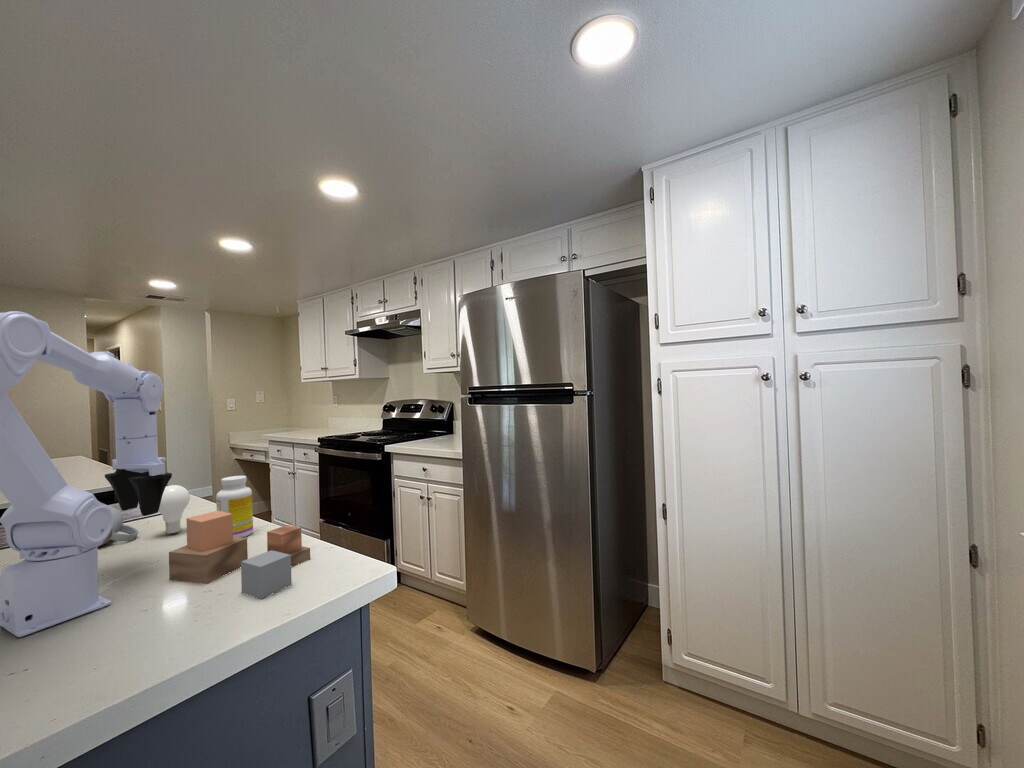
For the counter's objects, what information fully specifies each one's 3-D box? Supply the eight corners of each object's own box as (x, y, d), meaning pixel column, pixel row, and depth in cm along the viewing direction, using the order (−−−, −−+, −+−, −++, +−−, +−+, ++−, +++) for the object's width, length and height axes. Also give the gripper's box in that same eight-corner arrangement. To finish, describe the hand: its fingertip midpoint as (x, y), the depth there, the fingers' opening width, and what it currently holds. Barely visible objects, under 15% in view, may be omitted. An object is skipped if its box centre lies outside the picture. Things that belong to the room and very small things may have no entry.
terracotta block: (201, 551, 71) (201, 522, 72) (187, 546, 74) (186, 518, 74) (233, 541, 76) (232, 513, 76) (218, 537, 78) (217, 510, 78)
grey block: (261, 599, 64) (260, 567, 64) (241, 593, 66) (240, 561, 66) (291, 585, 69) (290, 554, 69) (272, 579, 71) (271, 550, 71)
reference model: (280, 571, 74) (279, 537, 74) (259, 565, 77) (258, 532, 77) (310, 558, 79) (309, 526, 79) (289, 553, 82) (288, 522, 82)
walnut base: (206, 585, 70) (206, 555, 70) (169, 581, 72) (168, 552, 72) (247, 565, 78) (247, 538, 78) (213, 562, 80) (212, 535, 80)
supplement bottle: (260, 530, 96) (258, 474, 96) (238, 541, 89) (237, 480, 90) (232, 530, 97) (231, 474, 97) (209, 541, 90) (207, 481, 90)
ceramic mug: (63, 555, 84) (63, 517, 84) (76, 543, 91) (76, 507, 91) (133, 544, 90) (134, 508, 90) (141, 533, 97) (141, 500, 97)
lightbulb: (160, 532, 97) (159, 484, 97) (194, 527, 100) (192, 481, 100) (150, 541, 91) (149, 490, 91) (186, 535, 94) (185, 486, 94)
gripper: (183, 435, 77) (186, 509, 77) (143, 432, 83) (146, 501, 83) (135, 441, 70) (138, 522, 71) (96, 437, 77) (99, 511, 77)
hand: (139, 511), depth 77 cm, fingers open, 7 cm apart
